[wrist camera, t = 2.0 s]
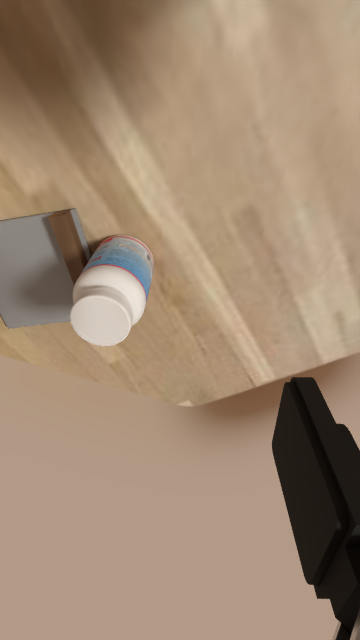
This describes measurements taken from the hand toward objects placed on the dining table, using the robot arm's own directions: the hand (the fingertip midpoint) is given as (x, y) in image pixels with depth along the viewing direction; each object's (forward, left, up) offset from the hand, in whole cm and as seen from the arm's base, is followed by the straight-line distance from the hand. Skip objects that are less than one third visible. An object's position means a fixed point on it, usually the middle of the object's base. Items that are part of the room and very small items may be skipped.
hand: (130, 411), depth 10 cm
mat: (+15, +5, -25) cm, 29 cm away
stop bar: (+10, +5, -25) cm, 27 cm away
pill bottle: (+6, +5, -25) cm, 26 cm away
